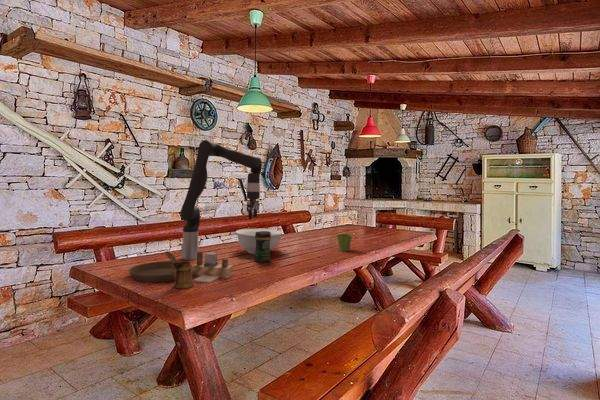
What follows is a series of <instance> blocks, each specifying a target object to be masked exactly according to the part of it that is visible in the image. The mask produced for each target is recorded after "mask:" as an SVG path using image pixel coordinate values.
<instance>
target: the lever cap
mask: <svg viewBox="0 0 600 400" xmlns="http://www.w3.org/2000/svg"><path fill="white" fill-rule="evenodd" d="M217 262H218V252H210V251H208V252H206V253H204V263H208V264H215V263H217Z"/></svg>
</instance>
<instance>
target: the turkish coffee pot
mask: <svg viewBox="0 0 600 400" xmlns="http://www.w3.org/2000/svg"><path fill="white" fill-rule="evenodd" d="M165 255H166V257H167V259H169V261H172V262H173V263H172V265H171V273H172V275H173V277H174V279H175V280H174V282H173V288H175V289H177V290H179V289H180V290H182V289H190V288H192V287H194V286H195V285H194V280H193V275H192V267H191V265H192V264H191V261H189V260H184V261H180V262H176V261H177V259H176V257H175V256H174V255H173V253H171V252H169V251H168V250H165ZM175 268H176V273H175V272H174V270H175Z"/></svg>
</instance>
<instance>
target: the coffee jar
mask: <svg viewBox="0 0 600 400" xmlns="http://www.w3.org/2000/svg"><path fill="white" fill-rule="evenodd" d="M255 239H256V249H255V254H254V258H253V259H254V261H255V262H257V263H259V262H260V263H265V262H269V261H271V250H270V239H271V233H270V232H268V231H260V232H256V234H255Z"/></svg>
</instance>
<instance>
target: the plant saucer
mask: <svg viewBox="0 0 600 400" xmlns="http://www.w3.org/2000/svg"><path fill="white" fill-rule="evenodd" d="M176 262H181V261H178V260H176ZM172 263H173V262H172V261H171V260H165V261H164V260H162V261H153V262H146V263H140V264H138V265H134V266H132V267H129V269H128V273H129V274H130V276H131V277H133V278H134V280H136V281H139V282H145V283H146V282H147V283H161V282H163V283H164V282H171V281H175V279H174V277H173V275H172V273H171V265H172ZM192 266H193V264H191V267H192ZM174 272H175V273H176V268H175V270H174Z"/></svg>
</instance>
